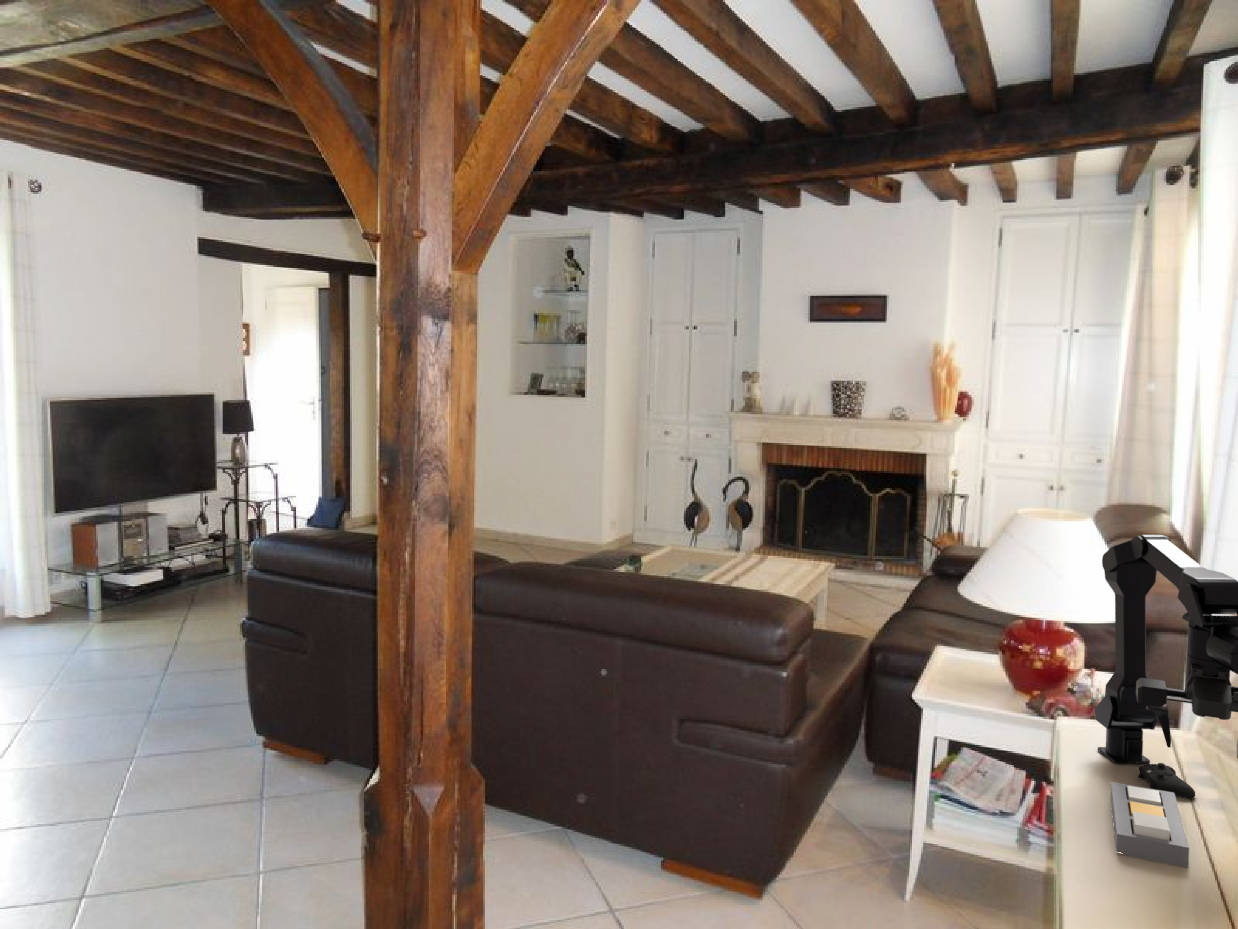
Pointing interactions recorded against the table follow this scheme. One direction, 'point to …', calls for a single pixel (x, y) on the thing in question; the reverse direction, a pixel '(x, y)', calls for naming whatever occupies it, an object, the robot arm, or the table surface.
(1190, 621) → the robot arm
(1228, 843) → the table surface
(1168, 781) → the game controller
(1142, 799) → the button
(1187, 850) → the switch strip
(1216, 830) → the table surface
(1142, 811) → the button mid
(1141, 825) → the button
